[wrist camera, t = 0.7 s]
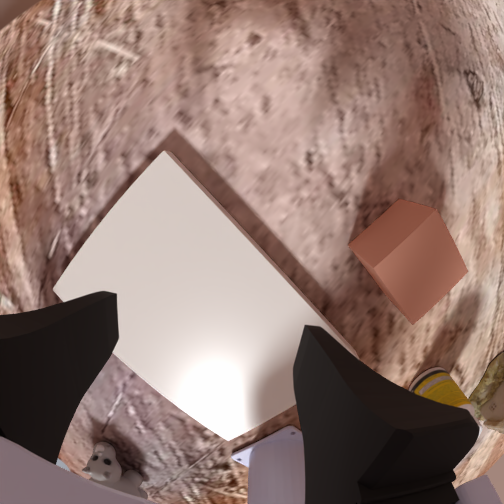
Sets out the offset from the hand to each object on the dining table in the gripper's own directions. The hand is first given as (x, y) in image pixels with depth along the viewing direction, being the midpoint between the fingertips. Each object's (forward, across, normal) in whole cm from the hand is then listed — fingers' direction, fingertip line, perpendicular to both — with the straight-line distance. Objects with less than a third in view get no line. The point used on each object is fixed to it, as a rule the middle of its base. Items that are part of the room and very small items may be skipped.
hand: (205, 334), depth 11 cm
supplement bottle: (+10, -20, +10) cm, 25 cm away
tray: (+10, +1, +5) cm, 11 cm away
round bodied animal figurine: (+10, +11, +30) cm, 33 cm away
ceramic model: (+10, -36, +12) cm, 39 cm away
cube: (+10, -11, -2) cm, 15 cm away
